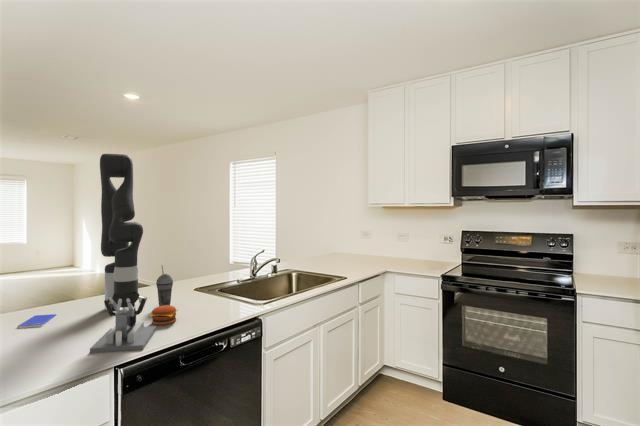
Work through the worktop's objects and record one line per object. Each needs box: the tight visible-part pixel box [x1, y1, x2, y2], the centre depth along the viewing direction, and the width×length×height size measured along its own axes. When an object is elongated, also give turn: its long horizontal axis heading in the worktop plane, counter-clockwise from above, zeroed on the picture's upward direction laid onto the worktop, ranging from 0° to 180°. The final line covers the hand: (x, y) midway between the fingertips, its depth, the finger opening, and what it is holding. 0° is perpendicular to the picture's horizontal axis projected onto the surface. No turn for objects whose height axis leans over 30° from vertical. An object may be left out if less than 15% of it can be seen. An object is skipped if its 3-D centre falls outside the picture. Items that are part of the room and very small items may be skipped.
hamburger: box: [149, 305, 179, 327], centre depth 142 cm, size 9×10×7 cm
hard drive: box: [16, 313, 58, 329], centre depth 139 cm, size 2×8×12 cm
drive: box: [114, 307, 137, 338], centre depth 122 cm, size 10×4×8 cm, turn 13°
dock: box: [89, 321, 157, 354], centre depth 123 cm, size 18×16×6 cm
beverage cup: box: [155, 264, 174, 307], centre depth 160 cm, size 7×7×20 cm
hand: (125, 326), depth 123 cm, fingers closed on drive, 3 cm apart
